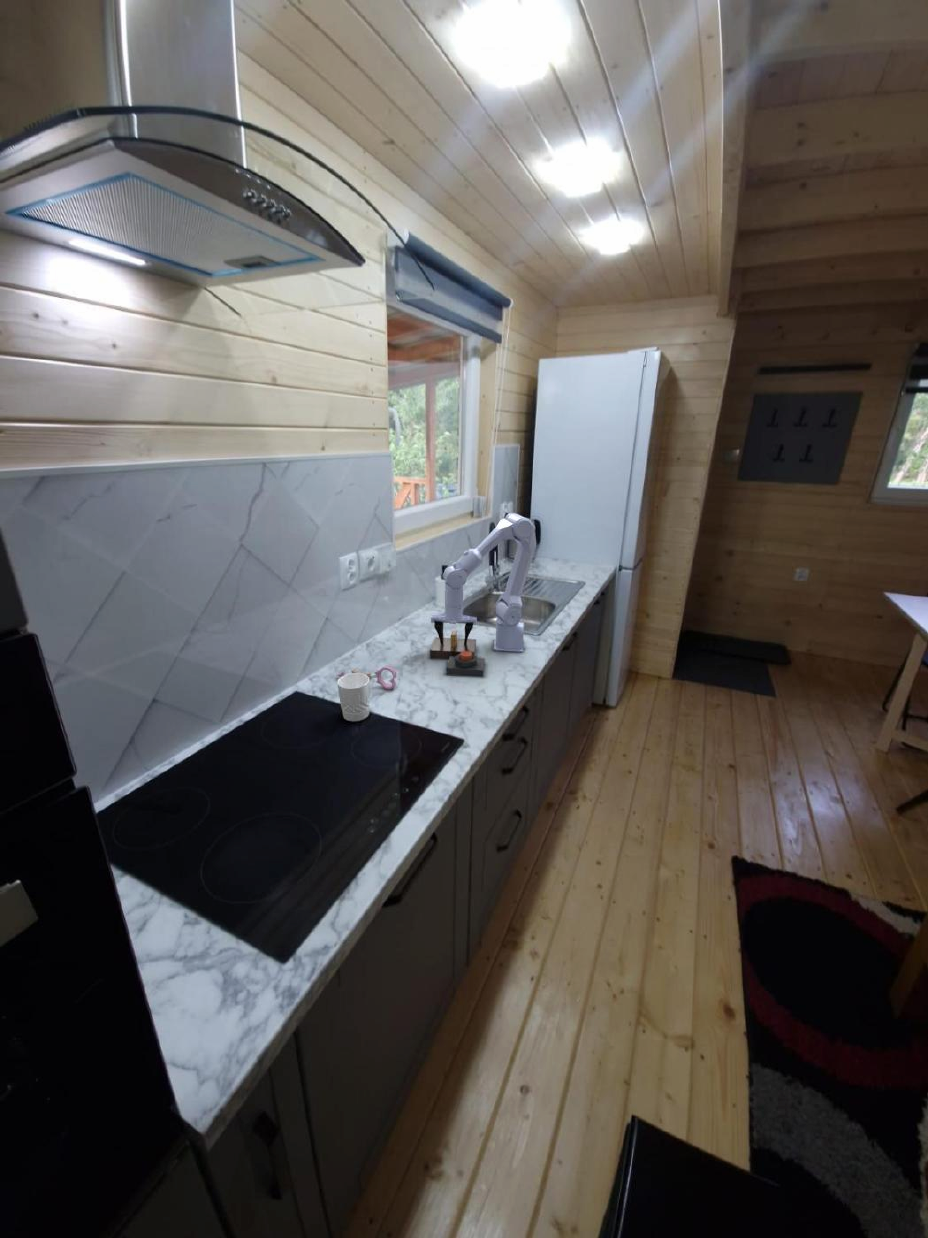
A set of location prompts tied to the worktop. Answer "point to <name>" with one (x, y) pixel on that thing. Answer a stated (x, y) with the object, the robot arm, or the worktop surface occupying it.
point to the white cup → (354, 696)
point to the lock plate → (450, 648)
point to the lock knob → (453, 638)
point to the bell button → (466, 656)
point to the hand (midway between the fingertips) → (453, 643)
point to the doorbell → (465, 666)
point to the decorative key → (378, 676)
